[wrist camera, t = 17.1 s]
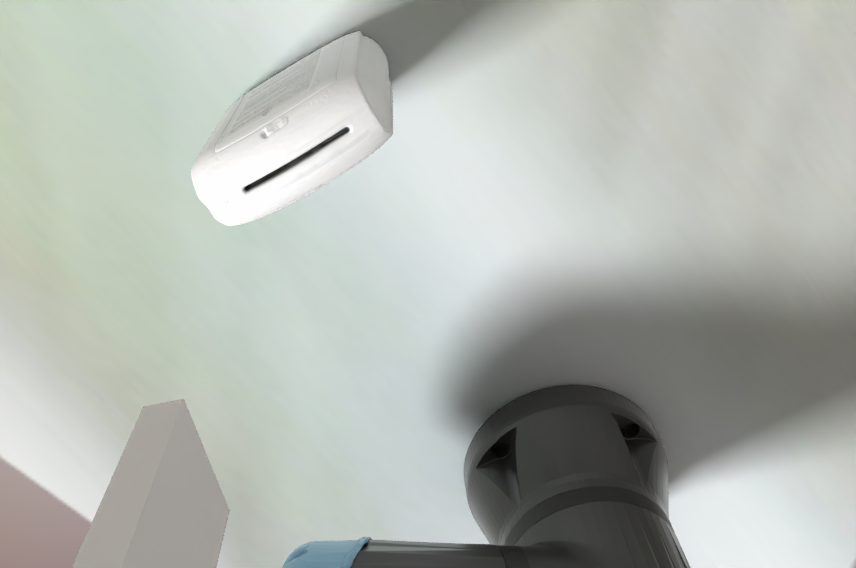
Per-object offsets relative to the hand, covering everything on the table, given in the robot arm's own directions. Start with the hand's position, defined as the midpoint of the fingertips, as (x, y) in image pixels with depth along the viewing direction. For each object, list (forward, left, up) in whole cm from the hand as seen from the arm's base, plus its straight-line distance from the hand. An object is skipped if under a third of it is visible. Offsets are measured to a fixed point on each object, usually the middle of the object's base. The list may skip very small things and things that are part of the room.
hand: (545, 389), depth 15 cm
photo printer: (-3, +8, -35) cm, 36 cm away
